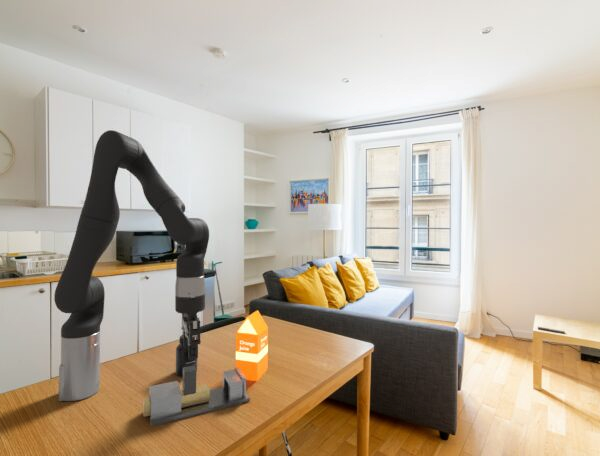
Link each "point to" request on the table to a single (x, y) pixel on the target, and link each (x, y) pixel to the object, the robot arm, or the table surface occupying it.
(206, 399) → the block
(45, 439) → the table surface
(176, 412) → the rail
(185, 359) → the supplement bottle
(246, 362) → the orange juice
